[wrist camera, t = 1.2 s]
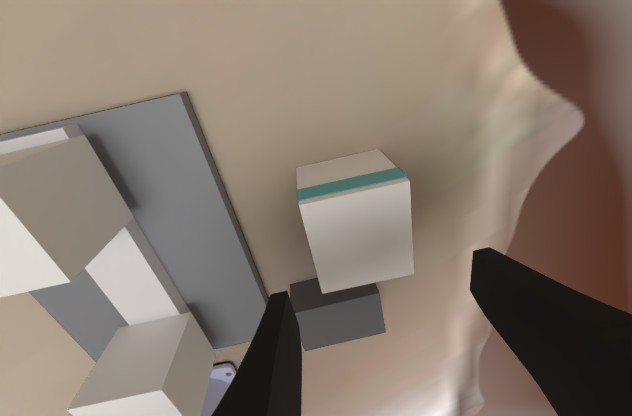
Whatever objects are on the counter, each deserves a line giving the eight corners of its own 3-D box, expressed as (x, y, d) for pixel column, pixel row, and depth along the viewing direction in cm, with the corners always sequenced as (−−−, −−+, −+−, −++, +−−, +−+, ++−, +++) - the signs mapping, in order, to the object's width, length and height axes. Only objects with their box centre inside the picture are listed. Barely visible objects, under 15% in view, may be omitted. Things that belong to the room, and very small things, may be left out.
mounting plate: (278, 324, 23) (275, 423, 17) (112, 360, 23) (49, 469, 17) (186, 91, 14) (109, 117, 8) (-76, 152, 15) (-343, 220, 8)
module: (386, 225, 19) (415, 274, 15) (313, 241, 19) (321, 294, 15) (378, 147, 17) (410, 179, 12) (295, 166, 17) (297, 204, 12)
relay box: (374, 300, 23) (385, 332, 20) (303, 317, 23) (305, 351, 20) (367, 263, 21) (379, 293, 18) (290, 282, 21) (290, 314, 19)
